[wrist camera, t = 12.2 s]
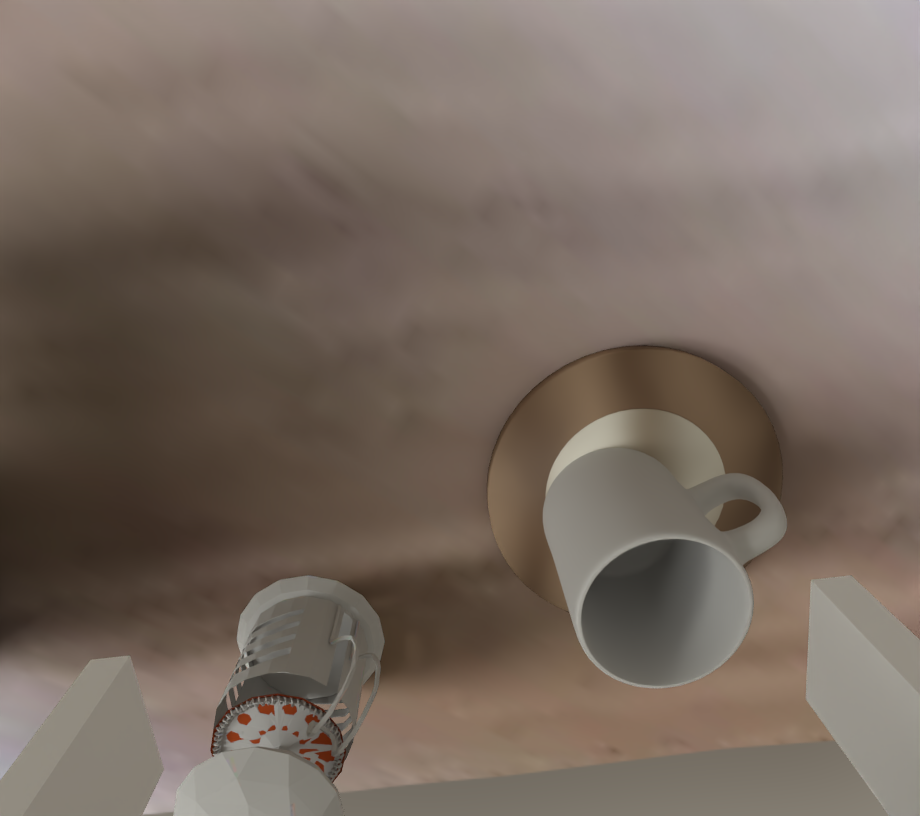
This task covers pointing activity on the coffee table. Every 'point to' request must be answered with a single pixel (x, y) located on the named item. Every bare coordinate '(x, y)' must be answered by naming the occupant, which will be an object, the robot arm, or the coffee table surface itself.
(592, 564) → the mug
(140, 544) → the coffee table surface
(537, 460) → the ring
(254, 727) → the french press
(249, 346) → the coffee table surface
